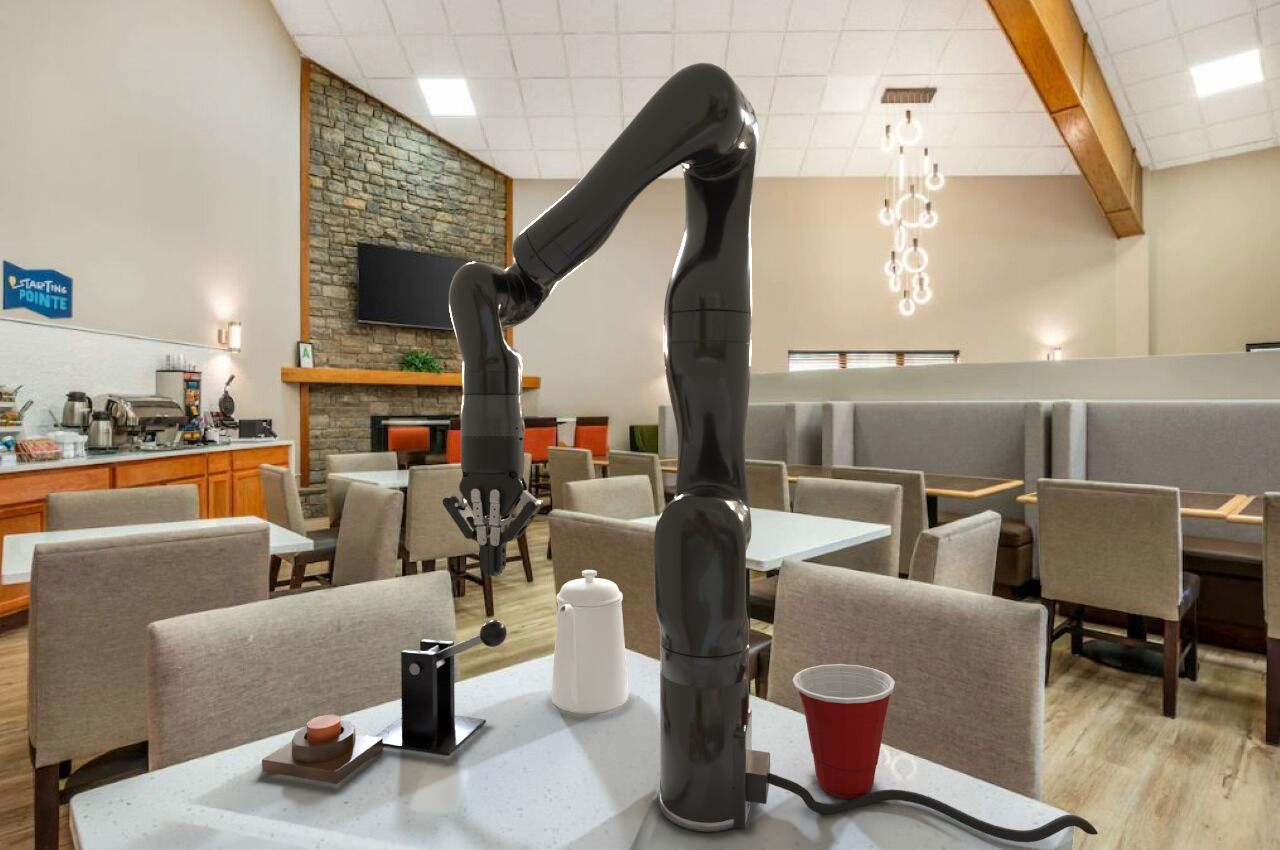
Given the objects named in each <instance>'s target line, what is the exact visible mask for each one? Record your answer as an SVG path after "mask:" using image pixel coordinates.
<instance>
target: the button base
mask: <svg viewBox="0 0 1280 850" xmlns="http://www.w3.org/2000/svg"><path fill="white" fill-rule="evenodd" d="M381 750H384V746H383V738H380V737H375V736H373V735H365V734H360V733H356V725H354V724H353V722H351V721H349V720H348V721H347V720H341V734H340V735H339V736H337V737H336V738H333V739H330V740H327V741H321V742H311V741H307V725H306V726H305V727H303V728H301V729H300V730H298V731H296V732H295V733H294V735H293V736H292V739H291V741H290V742H288V743H286V744H285V745H283V746H281V747H280V748H278V749H277V750H275V751H274V752H271V754H269V755H267V756H265V757H264V758H262V759H261V772H263V773H269V774H276V775H282V776H288V777H294V778H299V779H306V780H310V781H317V782H323V783H329V784H334V785H337V784H339V783H340V782H341V781H343V780H344V779H345V778H347V777H348V776H349V775H351V774H352V773H353V772H354V771H356V770H357V769H359V768H360V767H361V766H362V765H363V764H365V763H367V761H369V760H370V759H372V758H373V757H374V756H376V755H377V754H378V753H379V752H381Z"/></svg>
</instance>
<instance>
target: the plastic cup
mask: <svg viewBox="0 0 1280 850" xmlns="http://www.w3.org/2000/svg"><path fill="white" fill-rule="evenodd" d="M792 682H793V685H794V688H795V689H796V691H797V692H798V695H799V697H800V701H801V704H802V707H803V711H804V716H805V722H806V728H807V733H808V734H807V735H808V739H809V746H810V750H811V753H812V759H813V765H814V771H815V775H816V778H817V782H818V783H817V784H818V785H819V787H820V788H821V789H822V790H823V791H824V792H825V793H826V794H829V795H831V796H833V797H836V798H840V799H845V800H852V799H854V798H857V797H859V796H862V795H865V794H868V793H871V792H872V789H873V788H874V787H873V786H874V782H875V776H876V771H877V765H878V763H879V758H880V752H881V745H882V740H883V733H884V728H885V727H884V726H885V721H886V717H887V712H888V707H889V703H890V697H891V695H892V694H893V693H894V689H895V688H894V687H895V682H896V681H895V680H894V679H893V677H892V676H890V675H889V674H888V673H886V672H883V671H881V670H879V669H876V668H872V667H868V666H864V665H859V664H857V665H856V664H845V663H835V664H834V663H833V664H820V665H816V666H811V667H807V668H805V669H802V670H800V671H799V672H795V674H794V676H793V678H792Z"/></svg>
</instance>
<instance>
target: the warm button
mask: <svg viewBox="0 0 1280 850" xmlns="http://www.w3.org/2000/svg"><path fill="white" fill-rule="evenodd" d="M341 721H342V718H341V716H339V715H338V714H324V715H319V716H316V717H313V718H312V719H310V720H308V722H307V723H306V726H307V741H311V742H321V741H327V740H330V739H333V738H336V737H337V736H339V735H340V734H341Z"/></svg>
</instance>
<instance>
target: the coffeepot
mask: <svg viewBox="0 0 1280 850" xmlns="http://www.w3.org/2000/svg"><path fill="white" fill-rule="evenodd" d="M597 575H598V571H597V570H594V569H584V570H582V571H581V576H582V578H576V579H573V580H569V581H567V582H565V583H564V584H563V585H562V586H561V588H560V591H559V592H557V594H556V596H555V597H556V600H555V601H556V603H557V608H556V622H555V623H556V625H555V637H554V638H555V639H554V650H553V651H554V652H553V666H552V679H551V680H552V682H551V701H552V704H553V705H554V706H556V707H557V708H559V709H561V710H563V711H566V712H571V713H575V714H597V713H604V712H608V711H612V710H615V709H617V708H619V707H621V706H623V705H624V704H625V703H626V702H627V701H628V699H629V683H628V681H629V680H628V669H627V658H626V645H625V644H626V643H625V632H624V631H625V630H624V619H623V618H624V617H623V605H622V601H623V600H624V599H623V595H624V594H623V592H622V591H620V589H619V586H618V585H617V584H616V583H615V582H613V581H612V580H609V579H605V578H600V577H596V576H597Z"/></svg>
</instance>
